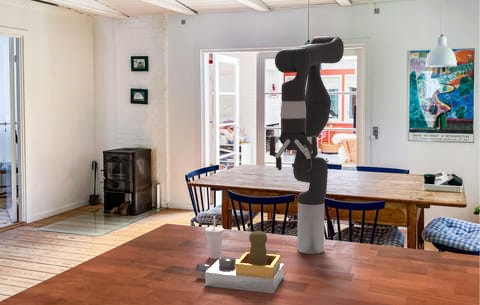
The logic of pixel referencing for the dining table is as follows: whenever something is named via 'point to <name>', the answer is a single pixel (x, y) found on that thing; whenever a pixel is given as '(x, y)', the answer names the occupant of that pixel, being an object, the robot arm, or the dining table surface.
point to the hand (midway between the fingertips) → (293, 170)
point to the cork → (258, 248)
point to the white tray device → (243, 274)
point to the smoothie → (214, 240)
